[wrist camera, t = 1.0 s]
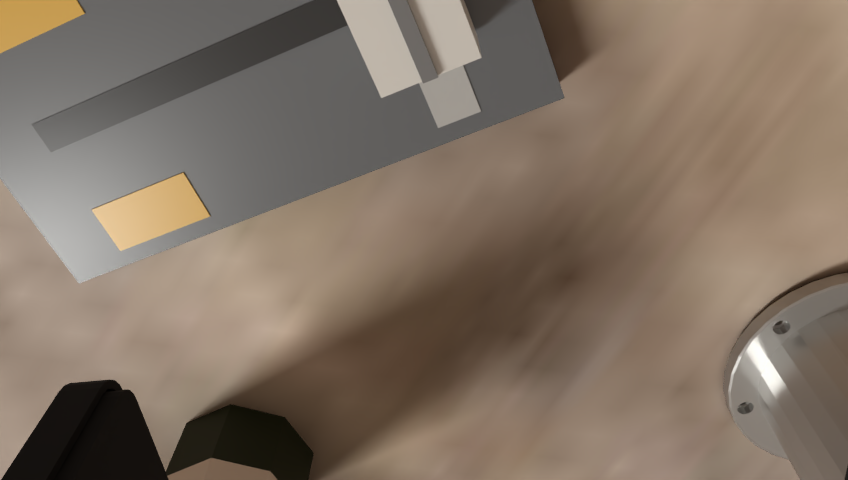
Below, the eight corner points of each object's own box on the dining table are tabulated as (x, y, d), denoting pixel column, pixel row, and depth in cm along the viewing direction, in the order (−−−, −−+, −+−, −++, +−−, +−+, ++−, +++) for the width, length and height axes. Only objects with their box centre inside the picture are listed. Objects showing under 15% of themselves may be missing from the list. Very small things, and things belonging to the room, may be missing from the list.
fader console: (441, -262, 27) (442, -269, 25) (557, 84, 33) (564, 98, 31) (-92, 5, 32) (-124, 15, 30) (95, 262, 38) (78, 284, 36)
